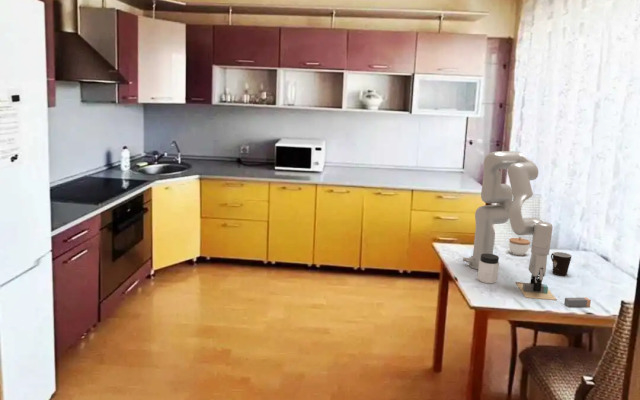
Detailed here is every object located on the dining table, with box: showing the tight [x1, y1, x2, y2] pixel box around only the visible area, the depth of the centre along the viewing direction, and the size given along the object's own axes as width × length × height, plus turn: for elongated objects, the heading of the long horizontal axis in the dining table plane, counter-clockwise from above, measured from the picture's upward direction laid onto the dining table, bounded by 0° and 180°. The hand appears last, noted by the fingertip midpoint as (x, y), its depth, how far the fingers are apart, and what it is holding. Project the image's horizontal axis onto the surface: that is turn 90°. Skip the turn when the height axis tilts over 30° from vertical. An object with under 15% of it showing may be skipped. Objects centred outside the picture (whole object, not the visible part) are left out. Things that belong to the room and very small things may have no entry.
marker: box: [522, 282, 549, 293], centre depth 255 cm, size 10×3×3 cm, turn 84°
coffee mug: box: [550, 251, 573, 277], centre depth 284 cm, size 12×9×10 cm
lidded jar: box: [508, 237, 531, 256], centre depth 315 cm, size 11×11×9 cm
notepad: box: [515, 281, 557, 301], centre depth 257 cm, size 13×19×1 cm
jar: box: [476, 253, 500, 284], centre depth 267 cm, size 9×8×12 cm
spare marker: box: [563, 297, 592, 308], centre depth 241 cm, size 10×3×3 cm, turn 99°
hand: (535, 288), depth 255 cm, fingers open, 4 cm apart
